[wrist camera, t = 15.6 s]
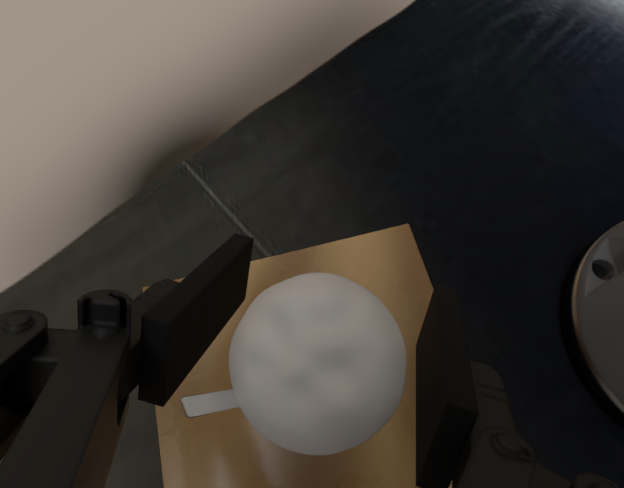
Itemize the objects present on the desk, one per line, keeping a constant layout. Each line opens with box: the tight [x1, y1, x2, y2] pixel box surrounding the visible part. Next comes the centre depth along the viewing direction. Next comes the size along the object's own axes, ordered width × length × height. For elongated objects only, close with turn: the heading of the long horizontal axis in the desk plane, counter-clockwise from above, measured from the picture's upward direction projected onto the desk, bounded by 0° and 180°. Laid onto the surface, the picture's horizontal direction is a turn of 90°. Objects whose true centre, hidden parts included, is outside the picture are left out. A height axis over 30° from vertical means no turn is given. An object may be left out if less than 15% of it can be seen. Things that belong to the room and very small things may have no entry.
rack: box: [143, 224, 453, 488], centre depth 23 cm, size 30×13×9 cm, turn 104°
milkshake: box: [180, 272, 406, 455], centre depth 14 cm, size 4×5×10 cm
